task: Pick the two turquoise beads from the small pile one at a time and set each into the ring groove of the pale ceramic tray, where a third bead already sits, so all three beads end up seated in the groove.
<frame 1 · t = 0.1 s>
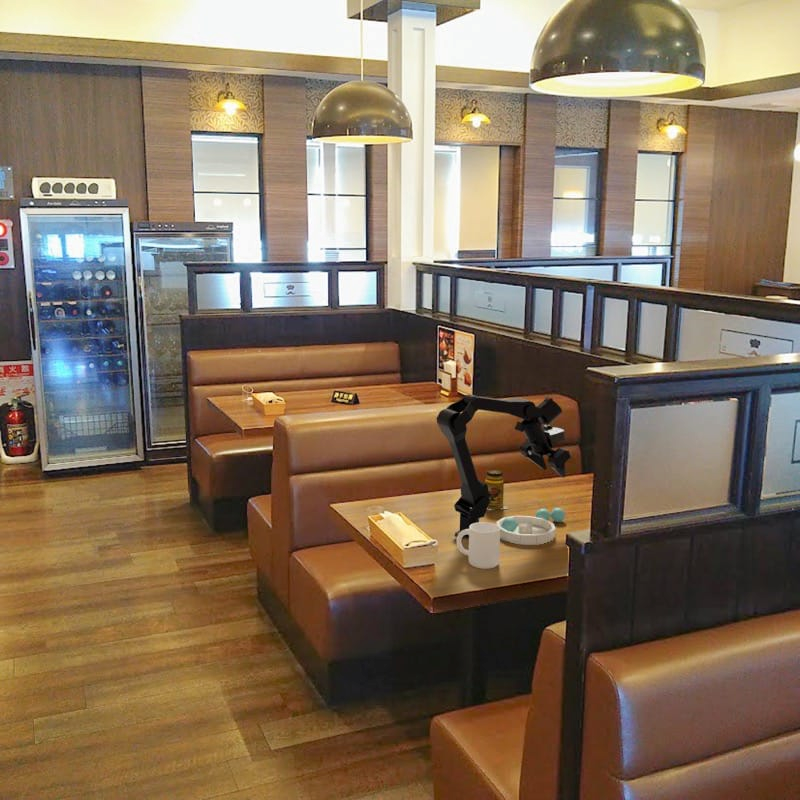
hand: (554, 472, 262), 15 cm above the table, tool tilted 30°, fingers open, 9 cm apart
mug: (477, 563, 229), on the table
groove tray: (525, 534, 250), on the table
condiment: (493, 506, 277), on the table
bead b: (558, 515, 262), point 2 cm above the table
bead a: (542, 515, 261), point 2 cm above the table
bead c: (509, 524, 250), point 3 cm above the table, touching groove tray
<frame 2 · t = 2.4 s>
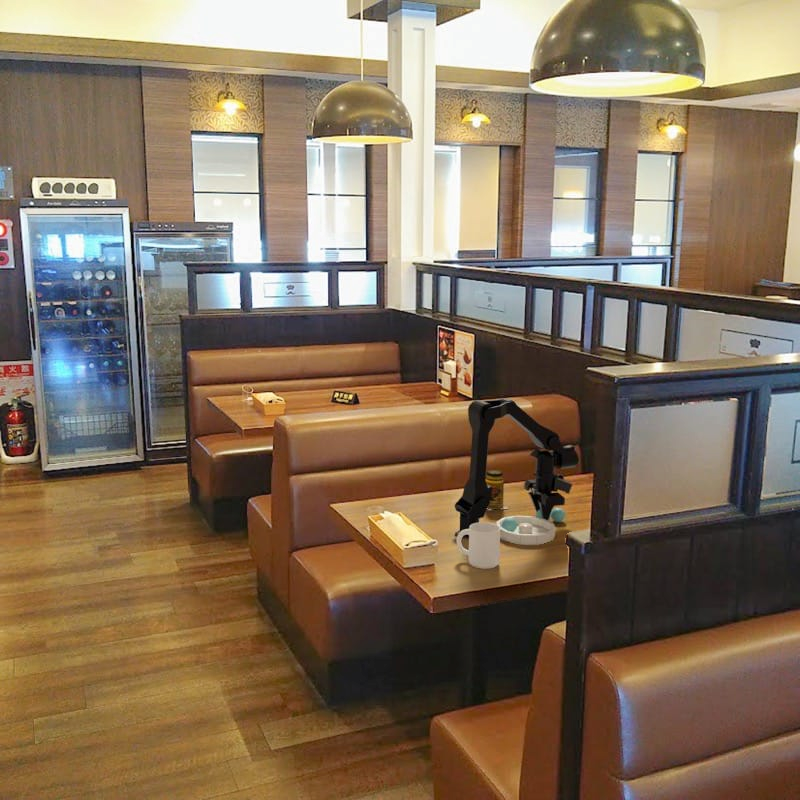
hand: (542, 518, 261), 1 cm above the table, tool pointing down, fingers closed on bead a, 4 cm apart
bead a: (542, 515, 261), point 2 cm above the table, touching gripper
everything else where it was.
when the fingers open (4 cm above the table, at t = 6.1 s): bead a drops 1 cm, resting on groove tray.
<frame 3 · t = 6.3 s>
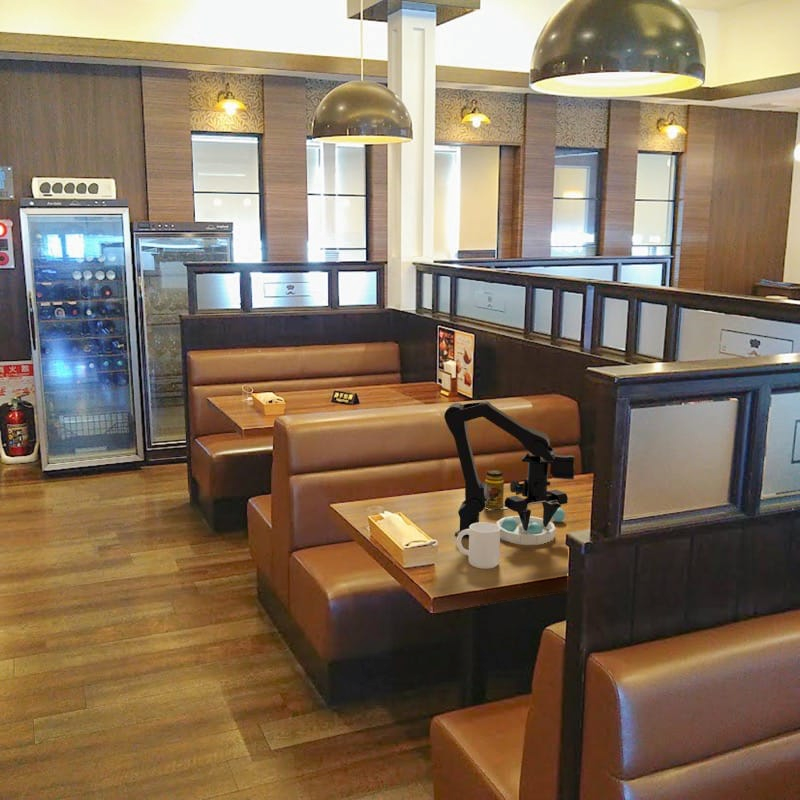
hand: (535, 528, 245), 4 cm above the table, tool pointing down, fingers open, 7 cm apart
bead a: (535, 530, 246), point 3 cm above the table, touching groove tray
everything else where it was.
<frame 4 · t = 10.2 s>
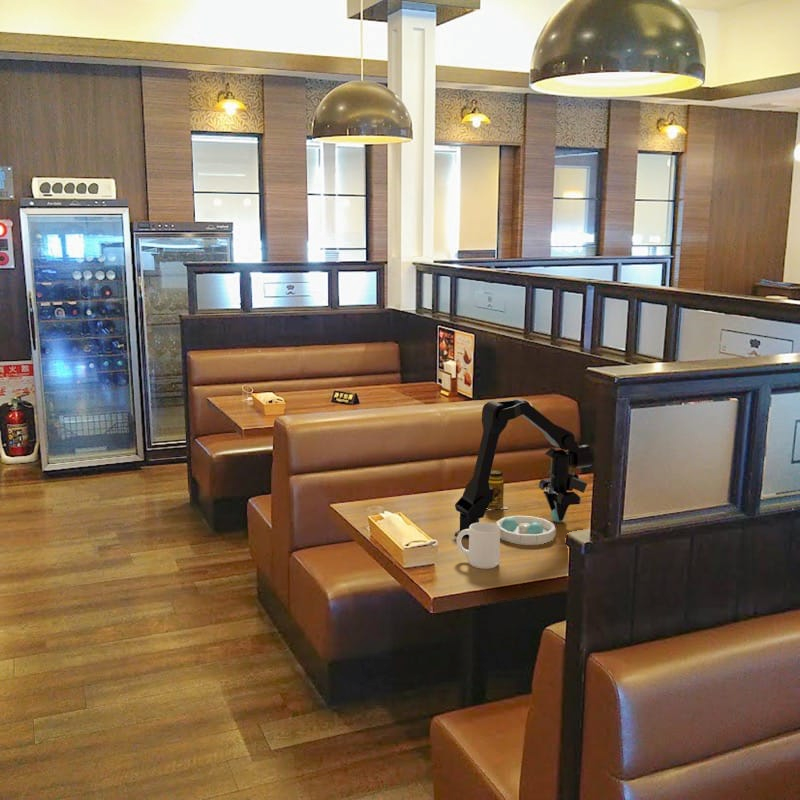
hand: (557, 518, 262), 1 cm above the table, tool pointing down, fingers closed on bead b, 4 cm apart
bead b: (558, 515, 262), point 2 cm above the table, touching gripper
everything else where it was.
when the fingers open (4 cm above the table, at t = 13.7 s): bead b drops 2 cm, resting on groove tray.
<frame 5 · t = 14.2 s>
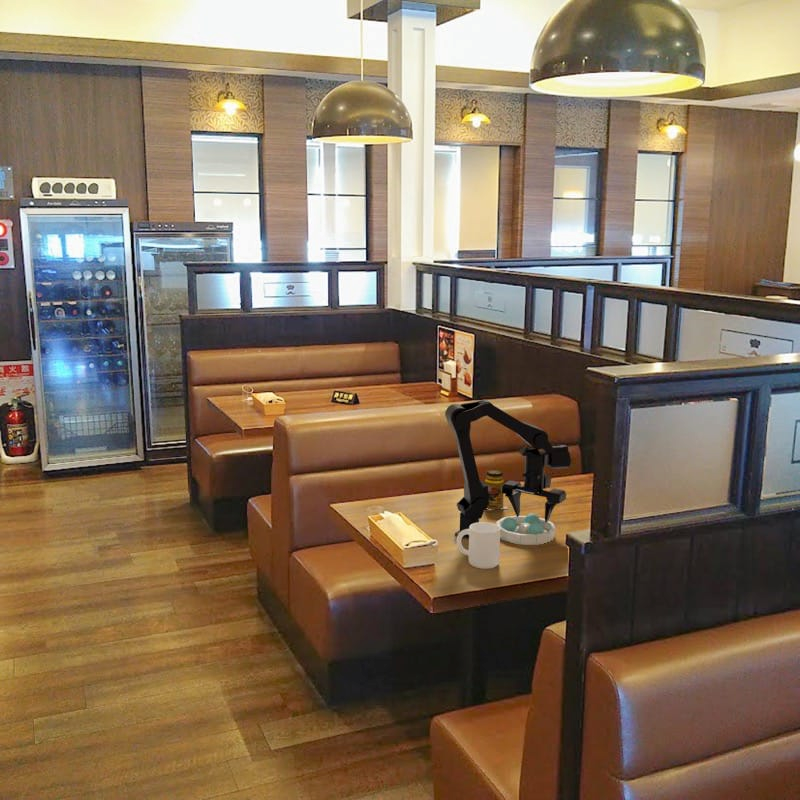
hand: (532, 519, 253), 4 cm above the table, tool pointing down, fingers open, 9 cm apart
bead b: (532, 520, 254), point 3 cm above the table, touching groove tray
everything else where it was.
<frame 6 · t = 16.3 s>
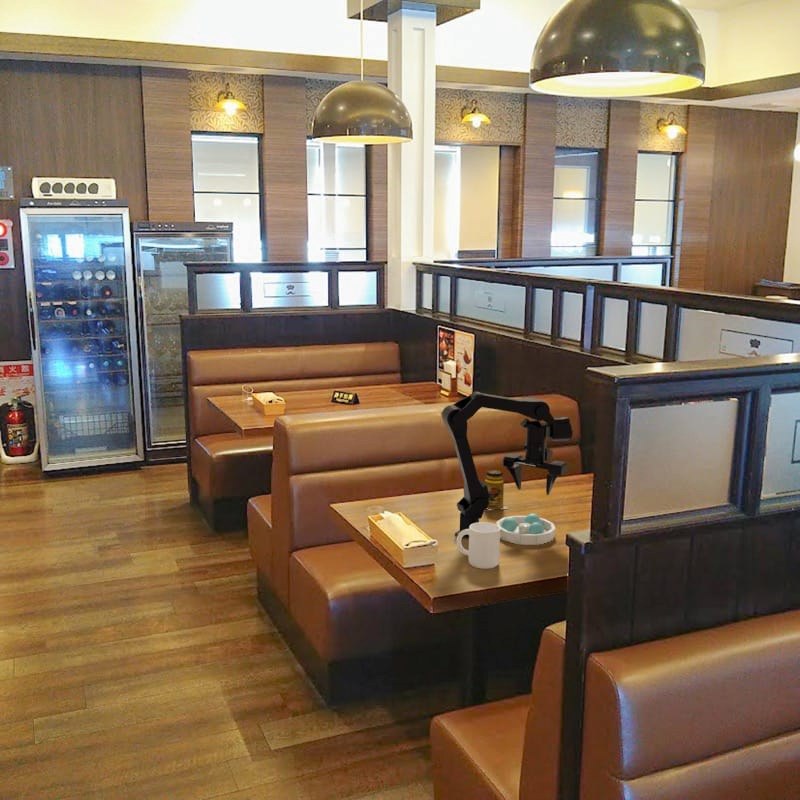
hand: (533, 492, 252), 12 cm above the table, tool pointing down, fingers open, 9 cm apart
nothing on the table moved.
at the end: bead a inside the target area on the groove tray (4.7 cm from its centre), point 3.0 cm above the groove tray's base; bead b inside the target area on the groove tray (4.8 cm from its centre), point 3.0 cm above the groove tray's base; bead c inside the target area on the groove tray (4.8 cm from its centre), point 3.0 cm above the groove tray's base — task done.
